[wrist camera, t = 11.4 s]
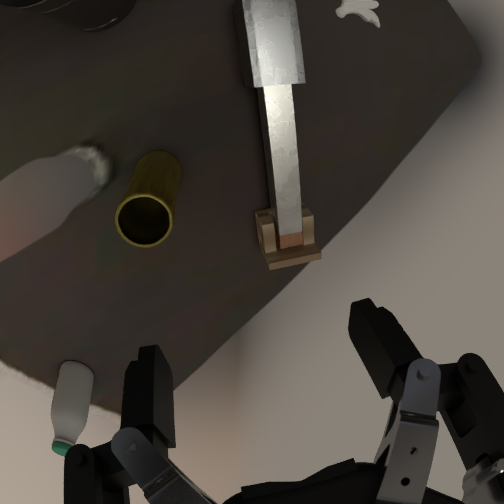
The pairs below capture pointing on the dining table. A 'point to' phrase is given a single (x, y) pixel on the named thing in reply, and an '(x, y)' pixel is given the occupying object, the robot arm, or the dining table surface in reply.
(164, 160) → the vase
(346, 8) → the acanthus leaf ornament
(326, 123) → the dining table surface
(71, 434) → the milk bottle
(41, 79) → the dining table surface
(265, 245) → the socket
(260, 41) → the sleeve
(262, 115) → the white orange-tipped bar
